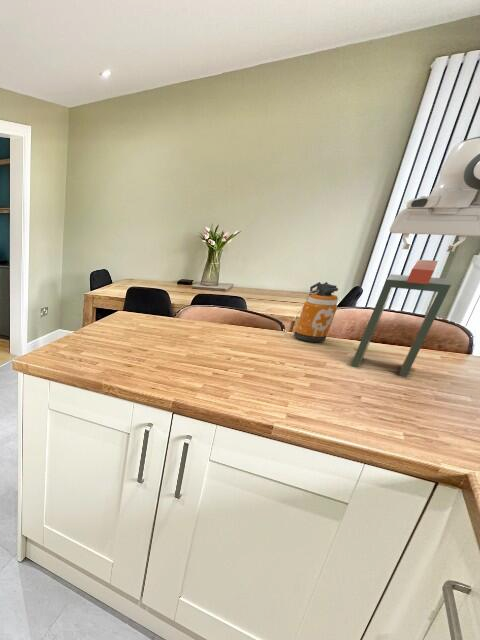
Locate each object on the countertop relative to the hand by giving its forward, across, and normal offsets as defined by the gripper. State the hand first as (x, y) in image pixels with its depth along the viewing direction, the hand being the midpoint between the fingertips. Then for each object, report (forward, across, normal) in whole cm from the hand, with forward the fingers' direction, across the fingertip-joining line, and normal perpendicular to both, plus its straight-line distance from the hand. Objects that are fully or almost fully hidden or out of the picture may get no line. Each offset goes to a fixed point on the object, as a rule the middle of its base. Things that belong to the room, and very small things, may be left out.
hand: (427, 250), depth 122 cm
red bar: (+5, -2, +21) cm, 21 cm away
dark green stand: (+31, -2, +24) cm, 40 cm away
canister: (+32, +20, +8) cm, 38 cm away
